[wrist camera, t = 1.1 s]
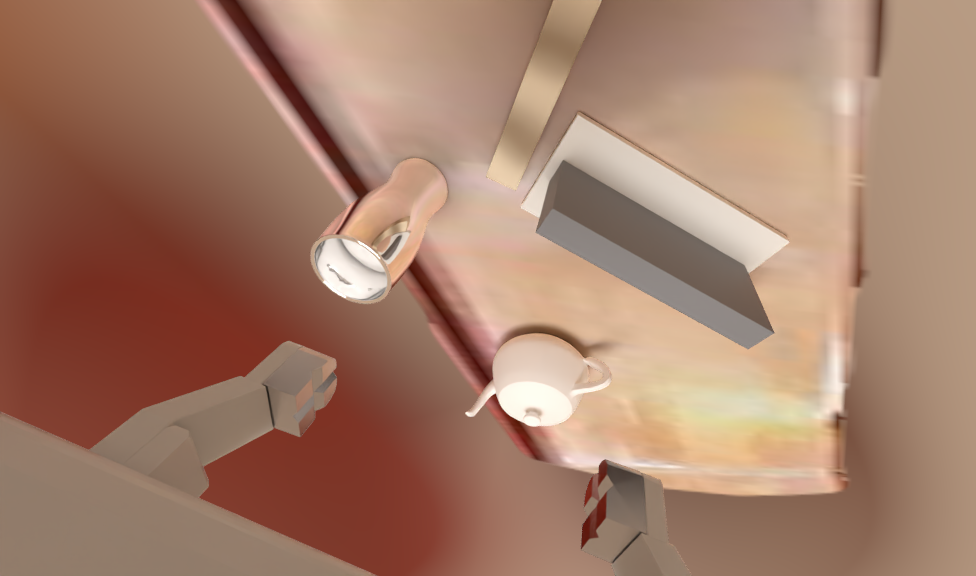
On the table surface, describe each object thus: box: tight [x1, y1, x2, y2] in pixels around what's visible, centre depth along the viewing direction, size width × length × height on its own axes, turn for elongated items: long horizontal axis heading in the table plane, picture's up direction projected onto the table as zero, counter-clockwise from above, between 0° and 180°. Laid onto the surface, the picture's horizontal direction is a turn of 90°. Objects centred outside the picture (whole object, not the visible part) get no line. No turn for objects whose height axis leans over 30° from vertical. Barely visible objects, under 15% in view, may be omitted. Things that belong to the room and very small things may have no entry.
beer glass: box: [310, 158, 448, 304], centre depth 36 cm, size 7×7×15 cm
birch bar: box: [486, 0, 602, 191], centre depth 29 cm, size 24×3×3 cm, turn 160°
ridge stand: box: [521, 111, 790, 349], centre depth 34 cm, size 10×22×10 cm, turn 65°
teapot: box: [466, 333, 612, 426], centre depth 50 cm, size 20×12×10 cm, turn 122°
